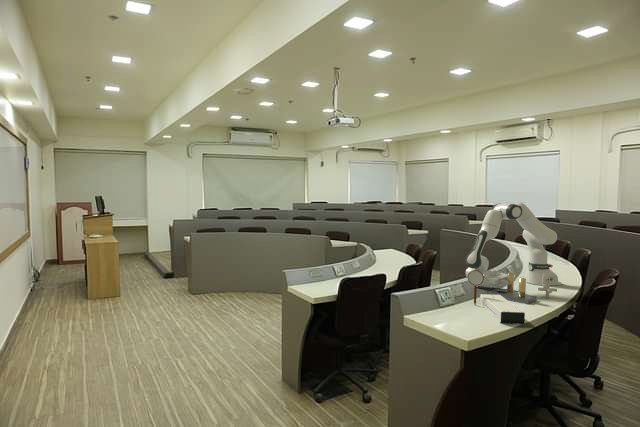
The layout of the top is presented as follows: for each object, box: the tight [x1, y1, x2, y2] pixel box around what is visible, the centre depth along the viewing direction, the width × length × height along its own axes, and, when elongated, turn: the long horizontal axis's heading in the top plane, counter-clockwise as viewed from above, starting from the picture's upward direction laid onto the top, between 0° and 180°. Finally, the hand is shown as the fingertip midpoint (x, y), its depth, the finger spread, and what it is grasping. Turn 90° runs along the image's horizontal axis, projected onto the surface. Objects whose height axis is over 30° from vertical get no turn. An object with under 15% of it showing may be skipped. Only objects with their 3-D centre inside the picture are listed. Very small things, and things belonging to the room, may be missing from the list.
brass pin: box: [506, 271, 515, 292], centre depth 259 cm, size 4×4×13 cm
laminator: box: [479, 293, 526, 325], centre depth 216 cm, size 34×12×6 cm, turn 175°
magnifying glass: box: [467, 270, 484, 306], centre depth 230 cm, size 9×2×20 cm, turn 57°
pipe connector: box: [537, 281, 558, 299], centre depth 248 cm, size 10×10×10 cm
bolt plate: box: [487, 277, 538, 305], centre depth 246 cm, size 24×12×13 cm, turn 42°
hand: (511, 281), depth 258 cm, fingers open, 8 cm apart
